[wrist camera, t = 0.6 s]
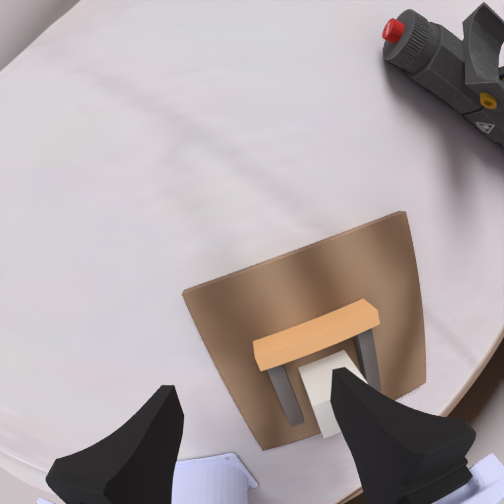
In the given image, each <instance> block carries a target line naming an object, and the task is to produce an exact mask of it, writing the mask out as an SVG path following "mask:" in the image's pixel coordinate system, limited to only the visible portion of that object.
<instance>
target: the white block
mask: <svg viewBox="0 0 504 504" xmlns="http://www.w3.org/2000/svg"><path fill="white" fill-rule="evenodd" d="M342 367H346V368H347V369H348V370H350V371H351V372H352V373H354V374H355V375H356V376H357V377H359V378H360V379H361V380H363V381H364V382H365V383H367V382H366V380H365V379H364V377H363V376H362V375H361V373H360V372H359V370H358V369H357V367H356V366H355V365H354V363H353V362H352V360H351V359H350V358H349V356H348V355H347V353H346V352H345V350H342V351H340V352H337V353H335V354H332V355H330V356H328V357H325V358H323V359H320V360H318V361H315V362H312V363H310V364H307V365H304V366H302V367H299V368H298V369H299V372H300V375H301V378H302V380H303V383H304V386H305V389H306V392H307V395H308V397H309V400H310V403H311V406H312V408H313V411H314V414H315V417H316V419H317V422H318V425H319V427H320V430H321V433H322V436H323V438H324V439H325V438H328V437H331V436H333V435H336V434H339V433H341V430H340V427H339V425H338V423H337V421H336V419H335V416H334V413H333V409H332V406H331V402H330V396H331V383H332V369H337V368H342ZM367 384H368V383H367Z"/></svg>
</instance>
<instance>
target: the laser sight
mask: <svg viewBox="0 0 504 504" xmlns="http://www.w3.org/2000/svg"><path fill="white" fill-rule="evenodd" d="M462 23H463V32H464V39H463V41H461V40H460V39H459V38H457V37H456V36H455V35H454V34H452V33H451V32H450V31H448V30H447V29H446V28H444V27H443V26H442V25H439V24H436V23H433V22H428V21H427V19H426V18H424V17H423V16H421V15H420V14H418V13H417V12H415V11H413V10H411V9H408V10H406V11H404V12H403V13H401V15H400V16H398V18H397V19H396V20H395V19H393V18H392V19H390V20H389V21H388V23H387V24H386V26H385V28H384V30H383V34H382V37H383V38H384V39H385V43H384V48H383V57H384V58H385V60H387V61H389V62H391V63H392V64H394V65H396V66H398V67H399V68H403V69H405V71H404V72H405V73H406V74H407V75H409V76H410V77H411V78H412V79H413V80H415V81H416V82H418V83H419V84H421V85H422V86H424V87H425V88H427V89H428V90H430V91H431V92H433V93H434V94H435V95H437V96H438V97H440V98H441V99H442V100H444V101H445V102H446V103H448V104H449V105H450V106H452V107H453V108H454V109H456V110H457V111H458V112H459V113H461V114H462V115H463V116H464V117H466V118H467V119H468V120H469V121H470V122H472V123H473V124H474V125H475V126H476V127H477V128H478V129H480V130H481V131H482V132H483V133H484V134H485V135H486V136H487V137H488V138H489V139H491V140H492V141H493V142H494V143H495V142H499V143H500V144H501V145H502V146H503V147H504V66H503V67H500V68H498V66H499V54H500V50H501V46H502V44H503V42H504V21H503V20H502V19H501V18H500V17H499V16H498V15H497V14H496V13H495V12H494V11H493V10H492V9H491V8H490V7H489V6H488V5H487V4H486V3H484V2H483V3H482V4H481V5H480V6H479V7H478V8H477V9H476V10H475V11H474V12H473V13H472V14H471V15H470V16H469V17H468V18H467V19H465V20H464V21H463V22H462Z"/></svg>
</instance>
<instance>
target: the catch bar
mask: <svg viewBox="0 0 504 504" xmlns="http://www.w3.org/2000/svg"><path fill="white" fill-rule="evenodd" d="M379 324H380V321H379V315H378V310H377V309H376V308H375V307H373V306H372V305H371V304H370V303H368V302H367V301H366V300H365V299H361V300H359V301H356V302H354V303H352V304H349V305H347V306H345V307H342V308H340V309H337V310H335V311H333V312H330V313H328V314H325V315H323V316H320V317H318V318H315V319H313V320H310V321H307V322H305V323H302V324H300V325H297V326H294V327H292V328H289V329H286V330H283V331H281V332H278V333H275V334H272V335H269V336H267V337H264V338H261V339H258V340H255V341H253V347H254V355H255V359H256V362H257V364H258V366H259V369H260V371H264V370H267V369H270V368H273V367H276V366H279V365H282V364H284V363H287V362H290V361H293V360H296V359H298V358H301V357H304V356H306V355H309V354H312V353H314V352H317V351H319V350H322V349H324V348H327V347H329V346H332V345H334V344H337V343H339V342H341V341H344V340H346V339H348V338H351V337H353V336H355V335H357V334H360V333H362V332H364V331H366V330H368V329H371V328H373V327H375V326H377V325H379Z"/></svg>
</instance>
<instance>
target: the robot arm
mask: <svg viewBox="0 0 504 504" xmlns="http://www.w3.org/2000/svg"><path fill="white" fill-rule="evenodd" d="M330 402H331V406H332V409H333V413H334V416H335V419H336V421H337V423H338V425H339V427H340V430H341V432H342V434H343V436H344V438H345V440H346V442H347V445H348V447H349V449H350V451H351V453H352V456H353V458H354V461H355V464H356V468H357V471H358V474H359V478H360V481H361V485H362V488H363V492H364V496H365V501H366V504H499V503H500V502H501V501H502V500H503V499H504V467H503V465H502V464H501V463H500V461H499V460H498V459H497V458H496V457H495V456H494V454H493V453H490V454H489V455H487V456H486V457H484V458H483V459H482V460H480V461H478V462H477V463H476V464H474V465H473V466H472V467H471V468H470V469H468V468H467V467H466V465H467V463H468V461H467V459H466V458H465V455H466V454H467V452H468V451H469V449H470V448H471V446H472V444H473V442H474V440H475V437H476V432H475V431H474V429H473V428H472V427H471V426H470V425H469V424H468V422H467V421H466V420H464V419H454V418H446V417H441V416H436V415H431V414H428V413H424V412H421V411H418V410H415V409H412V408H410V407H407V406H405V405H403V404H401V403H398V402H396V401H394V400H392V399H390V398H389V397H387V396H385V395H384V394H382V393H380V392H379V391H377V390H376V389H374V388H373V387H371V386H370V385H368V384H367V383H365V382H364V381H363V380H361V379H360V378H359V377H357V376H356V375H355V374H354V373H352V372H351V371H350V370H348V369H347V368H346V367H342V368H337V369H332V383H331V396H330ZM183 425H184V414H183V411H182V408H181V405H180V402H179V399H178V396H177V393H176V390H175V386H174V385H162V386H161V387H160V388H159V389H158V390H157V391H156V392H155V393H154V394H153V396H152V397H151V398H150V399H149V400H148V401H147V402H146V403H145V404H144V405H143V406H142V407H141V409H140V410H139V411H138V412H137V413H136V414H135V415H133V416H132V417H131V418H130V419H129V420H128V421H127V422H126V423H125V424H124V425H122V426H121V427H120V428H119V429H117V430H116V431H115V432H113V433H112V434H111V435H109V436H108V437H106V438H104V439H103V440H101V441H99V442H98V443H96V444H94V445H92V446H90V447H88V448H86V449H84V450H82V451H79V452H77V453H74V454H71V455H68V456H65V457H62V458H59V459H56V460H55V462H54V463H53V465H52V467H51V469H50V471H49V473H48V475H47V476H46V482H47V484H48V486H49V487H50V488H51V489H52V490H53V491H54V492H55V493H56V494H57V495H58V496H59V497H60V498H61V499H62V500H63V501H64V502H65V503H66V504H248V489H253V488H257V487H258V486H259V485H258V483H257V481H256V480H255V479H254V478H253V476H252V475H251V474H250V472H249V471H248V470H247V468H246V467H245V466H244V464H243V463H242V462H241V460H240V459H239V458H238V456H237V455H236V454H235V453H228V454H223V455H217V456H211V457H205V458H199V459H192V460H184V461H177V456H178V452H179V448H180V443H181V439H182V435H183ZM36 504H55V503H53V502H51V501H49V500H46V499H44V498H42V497H39V499H38V501H37V503H36Z"/></svg>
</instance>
